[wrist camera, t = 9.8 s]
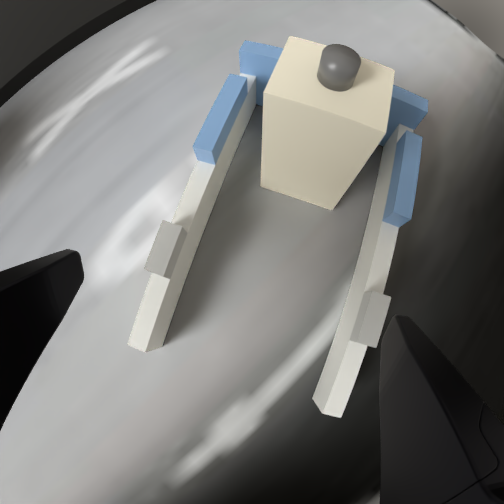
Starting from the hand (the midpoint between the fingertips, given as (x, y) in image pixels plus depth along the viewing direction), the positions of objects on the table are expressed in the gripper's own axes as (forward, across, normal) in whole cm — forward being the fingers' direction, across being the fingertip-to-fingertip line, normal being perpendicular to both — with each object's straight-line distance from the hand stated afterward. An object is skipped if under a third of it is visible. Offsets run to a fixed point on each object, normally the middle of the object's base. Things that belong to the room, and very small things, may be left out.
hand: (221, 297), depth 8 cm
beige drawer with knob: (+13, -2, 0) cm, 13 cm away
